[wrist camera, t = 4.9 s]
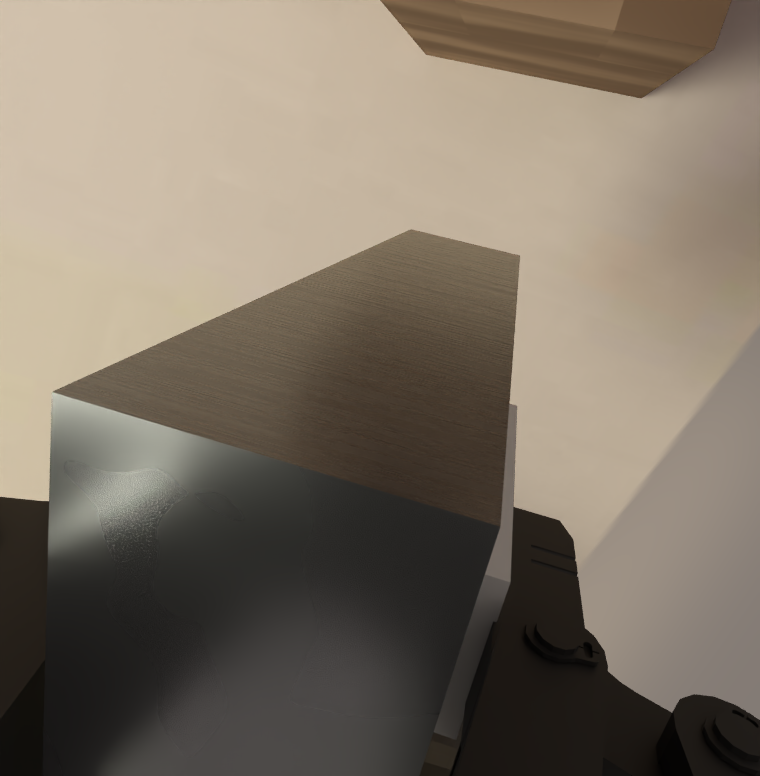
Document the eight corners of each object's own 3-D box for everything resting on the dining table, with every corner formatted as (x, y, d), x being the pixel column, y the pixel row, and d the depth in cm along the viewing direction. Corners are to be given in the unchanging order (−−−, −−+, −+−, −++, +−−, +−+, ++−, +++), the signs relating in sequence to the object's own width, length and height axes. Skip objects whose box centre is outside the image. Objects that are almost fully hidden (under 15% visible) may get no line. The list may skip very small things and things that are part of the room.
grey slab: (446, 511, 20) (290, 1170, 7) (354, 483, 20) (35, 1054, 7) (520, 256, 17) (501, 526, 4) (411, 229, 17) (51, 392, 4)
